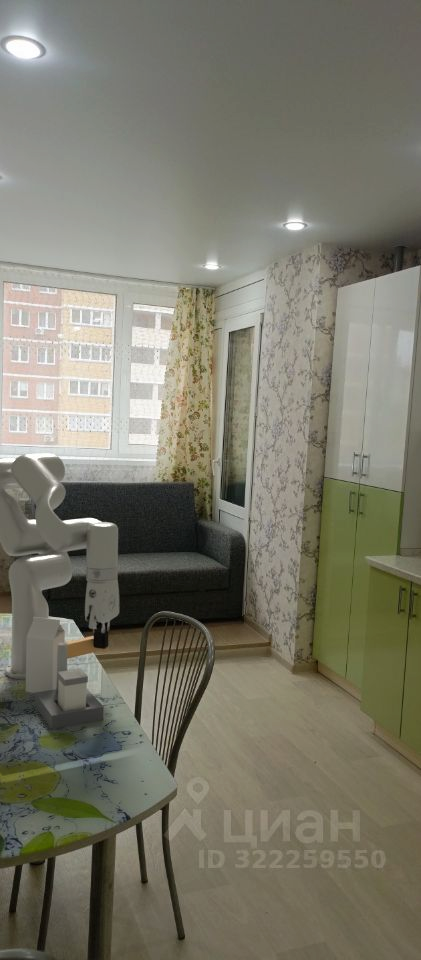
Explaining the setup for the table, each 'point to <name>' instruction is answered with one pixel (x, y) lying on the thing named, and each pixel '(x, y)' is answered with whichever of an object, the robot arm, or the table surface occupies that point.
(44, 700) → the socket
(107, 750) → the table surface
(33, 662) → the milk carton
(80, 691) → the plug
